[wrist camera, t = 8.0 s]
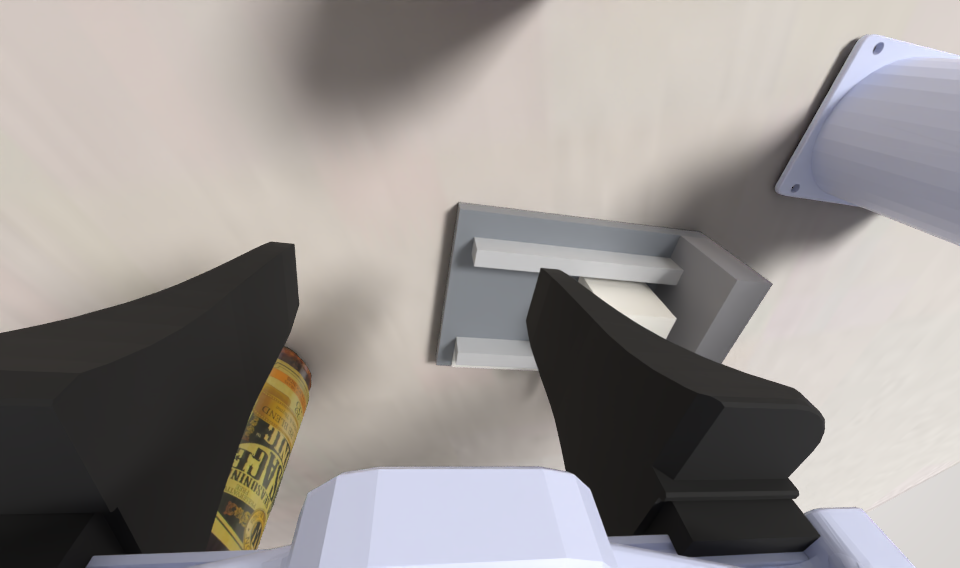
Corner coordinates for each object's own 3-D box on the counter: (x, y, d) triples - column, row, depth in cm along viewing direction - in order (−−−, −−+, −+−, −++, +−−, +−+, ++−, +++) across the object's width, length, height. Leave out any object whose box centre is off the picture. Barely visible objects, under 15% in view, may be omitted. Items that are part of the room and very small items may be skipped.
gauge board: (700, 231, 24) (772, 283, 19) (634, 364, 30) (677, 432, 25) (458, 202, 21) (468, 253, 16) (436, 354, 27) (438, 428, 22)
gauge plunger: (641, 279, 24) (676, 318, 21) (599, 373, 28) (623, 419, 25) (580, 273, 23) (606, 313, 20) (546, 371, 27) (563, 418, 24)
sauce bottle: (321, 402, 28) (168, 934, 12) (226, 404, 27) (-89, 986, 11) (308, 329, 25) (66, 938, 8) (200, 329, 24) (-326, 1013, 7)
